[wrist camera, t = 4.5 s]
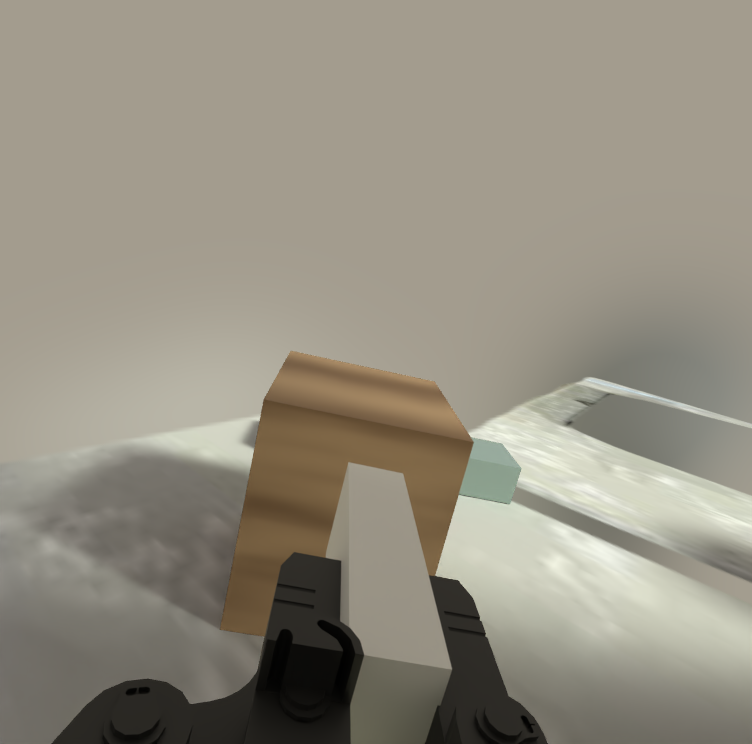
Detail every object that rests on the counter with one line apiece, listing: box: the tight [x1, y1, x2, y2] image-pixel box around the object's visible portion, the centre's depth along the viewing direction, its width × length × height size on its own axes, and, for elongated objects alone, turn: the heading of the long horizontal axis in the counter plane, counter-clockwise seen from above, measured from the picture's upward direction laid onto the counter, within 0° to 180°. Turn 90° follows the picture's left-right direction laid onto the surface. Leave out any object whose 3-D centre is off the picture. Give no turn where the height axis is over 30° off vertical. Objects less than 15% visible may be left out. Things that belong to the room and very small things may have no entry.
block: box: [220, 351, 474, 637], centre depth 24 cm, size 9×8×10 cm
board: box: [459, 437, 521, 504], centre depth 40 cm, size 5×18×3 cm, turn 93°
